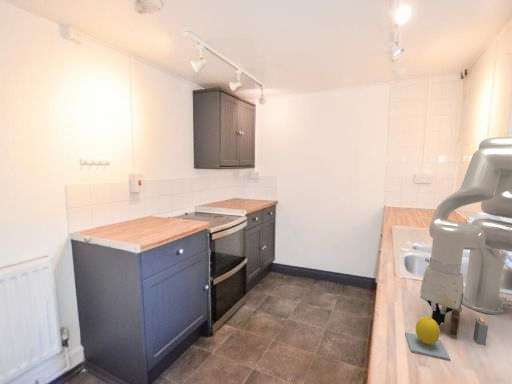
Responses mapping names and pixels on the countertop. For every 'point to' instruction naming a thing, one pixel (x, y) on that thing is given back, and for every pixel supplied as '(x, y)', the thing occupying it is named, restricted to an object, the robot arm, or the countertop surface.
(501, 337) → the countertop surface
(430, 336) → the lemon
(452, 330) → the brown wooden block
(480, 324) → the post
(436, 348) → the mat
